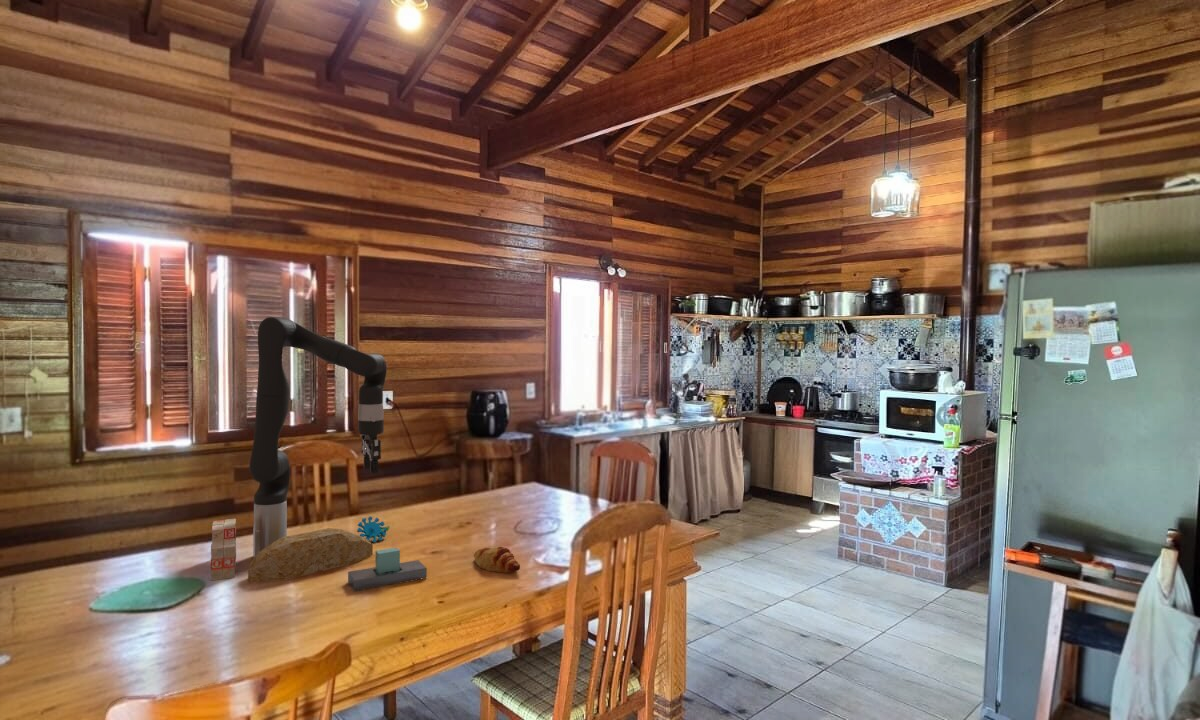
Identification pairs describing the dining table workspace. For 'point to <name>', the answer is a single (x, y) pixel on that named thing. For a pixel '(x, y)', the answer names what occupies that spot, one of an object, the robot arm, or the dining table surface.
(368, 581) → the rail
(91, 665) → the dining table surface
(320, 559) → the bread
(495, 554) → the croissant
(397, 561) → the teal block
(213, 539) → the stack of blocks
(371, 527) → the gear
